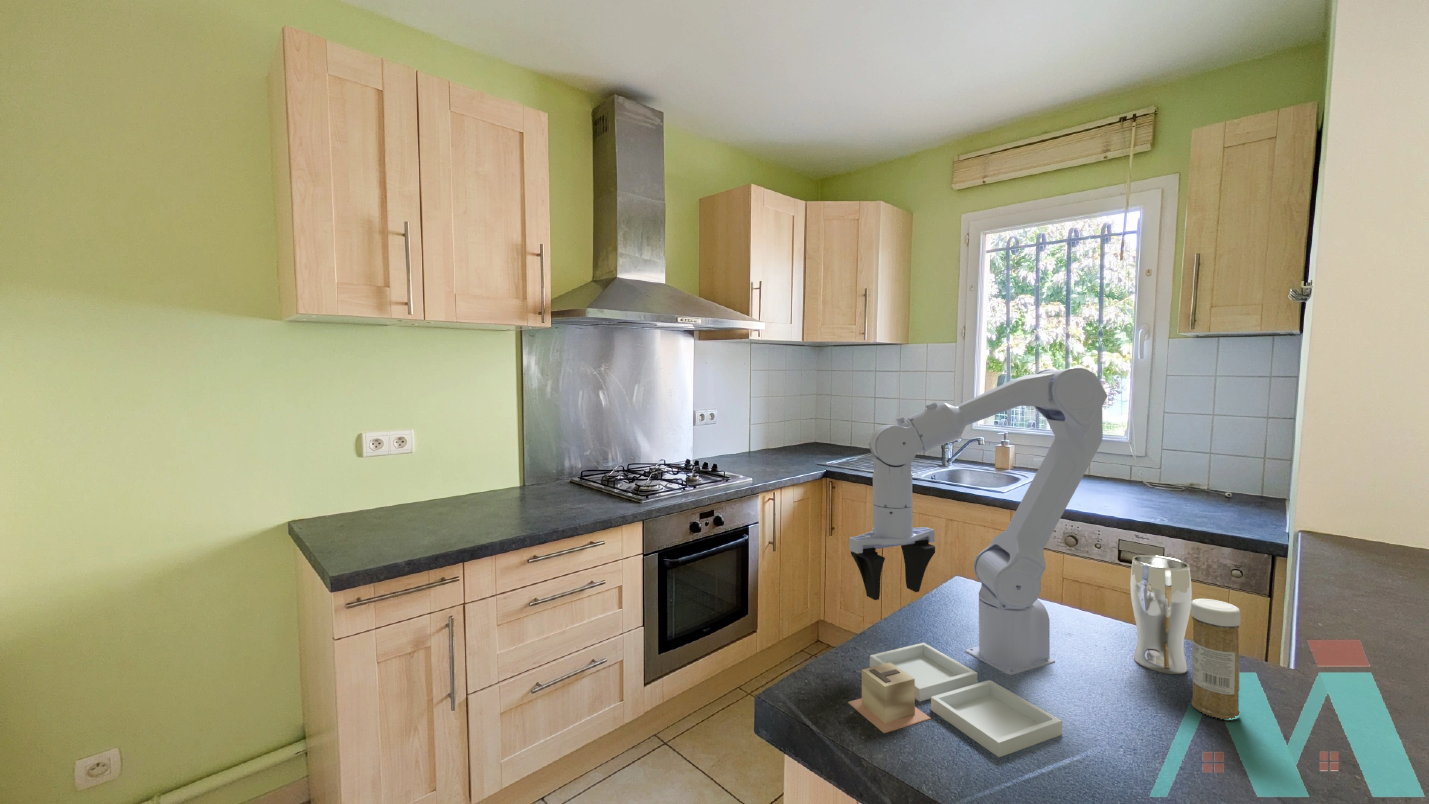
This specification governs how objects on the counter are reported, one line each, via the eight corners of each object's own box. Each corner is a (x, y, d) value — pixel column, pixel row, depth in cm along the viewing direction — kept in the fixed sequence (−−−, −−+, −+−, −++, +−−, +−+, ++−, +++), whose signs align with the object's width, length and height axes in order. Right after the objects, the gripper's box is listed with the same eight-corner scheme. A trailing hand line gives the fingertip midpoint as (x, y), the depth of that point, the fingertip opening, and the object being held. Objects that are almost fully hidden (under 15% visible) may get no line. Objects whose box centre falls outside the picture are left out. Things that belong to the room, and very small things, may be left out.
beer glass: (1138, 671, 80) (1138, 566, 80) (1124, 649, 86) (1124, 552, 86) (1200, 680, 77) (1200, 571, 77) (1180, 657, 84) (1180, 557, 83)
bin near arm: (923, 655, 86) (923, 642, 85) (977, 687, 76) (977, 672, 76) (869, 669, 82) (869, 655, 82) (919, 704, 72) (919, 689, 72)
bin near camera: (989, 694, 74) (989, 679, 74) (1062, 737, 65) (1062, 720, 65) (931, 712, 71) (930, 696, 71) (998, 760, 61) (998, 742, 61)
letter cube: (890, 696, 73) (890, 661, 73) (914, 714, 69) (914, 677, 69) (861, 704, 72) (861, 668, 72) (885, 723, 68) (884, 685, 68)
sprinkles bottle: (1245, 714, 69) (1245, 605, 69) (1232, 726, 67) (1233, 614, 66) (1198, 697, 73) (1198, 594, 73) (1184, 708, 71) (1185, 602, 70)
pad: (891, 693, 75) (891, 689, 75) (930, 722, 69) (930, 717, 69) (848, 705, 72) (847, 701, 72) (884, 736, 66) (884, 732, 66)
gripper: (911, 495, 92) (912, 578, 92) (836, 504, 86) (837, 592, 87) (944, 503, 85) (945, 593, 86) (865, 513, 80) (866, 608, 80)
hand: (893, 593), depth 86 cm, fingers open, 7 cm apart
